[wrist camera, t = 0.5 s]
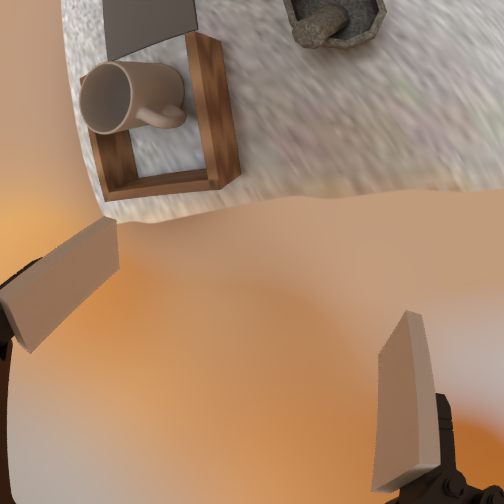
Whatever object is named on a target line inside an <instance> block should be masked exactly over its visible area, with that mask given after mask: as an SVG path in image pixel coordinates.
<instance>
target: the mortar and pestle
mask: <svg viewBox="0 0 504 504" xmlns="http://www.w3.org/2000/svg"><path fill="white" fill-rule="evenodd" d="M283 1H284V4H285V8H286V11H287V15H288V18H289V21H290V24H291V25H292V27H294V28H293V31H292V34H293V36H294V39H295V41H296V42H297V43H298V44H300V45H301V46H302V47H304V48H311V49H315V48H317V47H319V46H325V47H332V48H338V49H345V50H348V49H350V48H352V47H355V46H357V45H359V44H362V43H364V42H366V41H369V40H371V39H374V37H375V35H376V33H377V31H378V29H379V27H380V25H381V23H382V21H383V19H384V17H385V15H386V13H387V11H386V8H385V5H384V2H383V0H283Z"/></svg>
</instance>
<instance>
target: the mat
mask: <svg viewBox="0 0 504 504" xmlns="http://www.w3.org/2000/svg"><path fill="white" fill-rule="evenodd" d="M102 1H103V17H104V29H105V40H106V49H107V58H108V61H115V60H117V59H119V58H121V57H123V56H126V55H128V54H130V53H133V52H135V51H138V50H140V49H143V48H145V47H148V46H150V45H153V44H156V43H158V42H161V41H164V40H167V39H170V38H173V37H176V36H179V35H182V34H185V33H188V32H191V31H195V30H198V25H197V18H196V11H195V4H194V0H102Z"/></svg>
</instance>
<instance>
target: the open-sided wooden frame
mask: <svg viewBox="0 0 504 504" xmlns="http://www.w3.org/2000/svg"><path fill="white" fill-rule="evenodd" d="M185 41H186V48H187V54H188V61H189V68H190V74H191V81H192V87H193V93H194V99H195V106H196V112H197V118H198V124H199V129H200V135H201V141H202V147H203V153H204V158H205V164H206V169H199V170H191V171H183V172H176V173H169V174H162V175H155V176H149V177H142V178H138V174H137V169H136V165H135V160H134V156H133V151H132V146H131V141H130V136H129V131H128V130H124V131H120V132H116V133H112V134H98V133H96V132H94V131H92V130H91V129H90V128H89V127H88V132H89V137H90V142H91V146H92V151H93V156H94V160H95V165H96V169H97V173H98V177H99V181H100V185H101V189H102V193H103V197H104V200H105V202H108V201H116V200H123V199H131V198H139V197H148V196H157V195H166V194H176V193H186V192H197V191H209V190H221V189H222V188H223V187H225V186H226V185H227V184H229V183H230V182H231V181H233V180H234V179H235V178H237V177H238V176H239V175H241V171H240V164H239V158H238V151H237V145H236V138H235V132H234V125H233V119H232V112H231V106H230V99H229V93H228V86H227V80H226V74H225V67H224V61H223V54H222V48H221V41H219V40H216V39H214V38H211V37H209V36H206V35H203V34H201V33H198V32H195V31H194V32H191V33H188V34H185ZM86 76H87V75H85V76H83V77H82V78H80V83H81V86H82V83H83V81H84V79H85V77H86Z"/></svg>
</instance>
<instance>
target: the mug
mask: <svg viewBox="0 0 504 504" xmlns="http://www.w3.org/2000/svg"><path fill="white" fill-rule="evenodd" d="M183 97H184V85H183V81H182V79H181V76H180V75H179V73H178V72H177V71H176V70H175V69H174V68H172V67H170V66H168V65H165V64H158V63H141V62H123V61H107V62H103V63H100V64H98V65H97V66H95V67H94V68H93V69H92V70H91V71H90V72H89V73H88V74H87V76H86V77H85V79H84V81H83V83H82V86H81V89H80V94H79V108H80V112H81V116H82V118H83V120H84V122H85V123H86V125H87V126H88V127H89V128H90V129H91V130H92V131H94V132H96V133H98V134H112V133H116V132H120V131H124V130H128V129H133V128H137V127H141V126H146V125H152V126H155V127H158V128H164V129H168V128H175V127H179V126H181V125H182V124H183V123H184V122H185V121H186V118H187V115H186V113H185V112H184V111H183V110H181V109H180V106H181V104H182V101H183Z"/></svg>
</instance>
